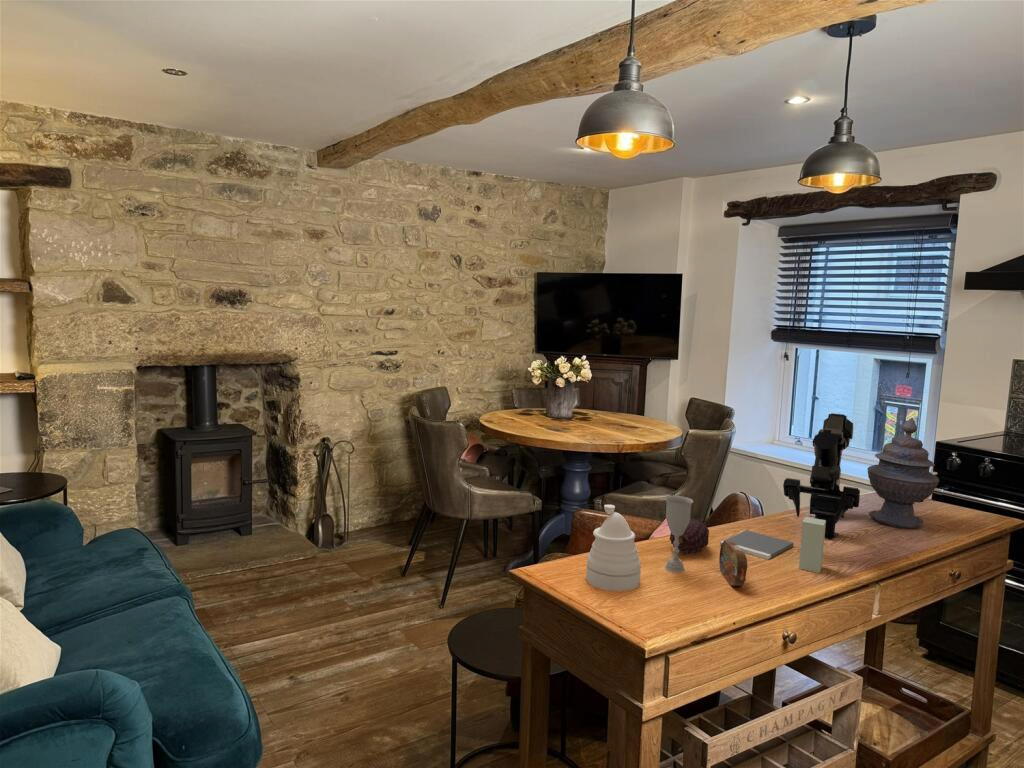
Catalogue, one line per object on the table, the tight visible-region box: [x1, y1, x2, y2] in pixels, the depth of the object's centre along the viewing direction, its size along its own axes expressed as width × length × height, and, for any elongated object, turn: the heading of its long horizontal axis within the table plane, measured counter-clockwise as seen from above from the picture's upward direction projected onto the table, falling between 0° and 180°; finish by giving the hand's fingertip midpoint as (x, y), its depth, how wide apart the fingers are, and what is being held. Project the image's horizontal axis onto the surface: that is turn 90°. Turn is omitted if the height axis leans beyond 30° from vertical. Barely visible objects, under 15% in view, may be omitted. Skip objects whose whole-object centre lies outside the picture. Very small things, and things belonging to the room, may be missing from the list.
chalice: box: [664, 495, 694, 574], centre depth 177 cm, size 7×7×18 cm
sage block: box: [798, 516, 826, 574], centre depth 182 cm, size 5×5×12 cm
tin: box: [718, 540, 748, 587], centre depth 172 cm, size 15×3×8 cm, turn 178°
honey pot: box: [585, 504, 642, 592], centre depth 169 cm, size 13×13×18 cm
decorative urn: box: [867, 417, 940, 529], centre depth 222 cm, size 20×20×34 cm
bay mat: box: [719, 529, 794, 560], centre depth 198 cm, size 16×14×1 cm
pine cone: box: [669, 517, 710, 556], centre depth 191 cm, size 18×10×10 cm
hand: (816, 519), depth 185 cm, fingers open, 9 cm apart
